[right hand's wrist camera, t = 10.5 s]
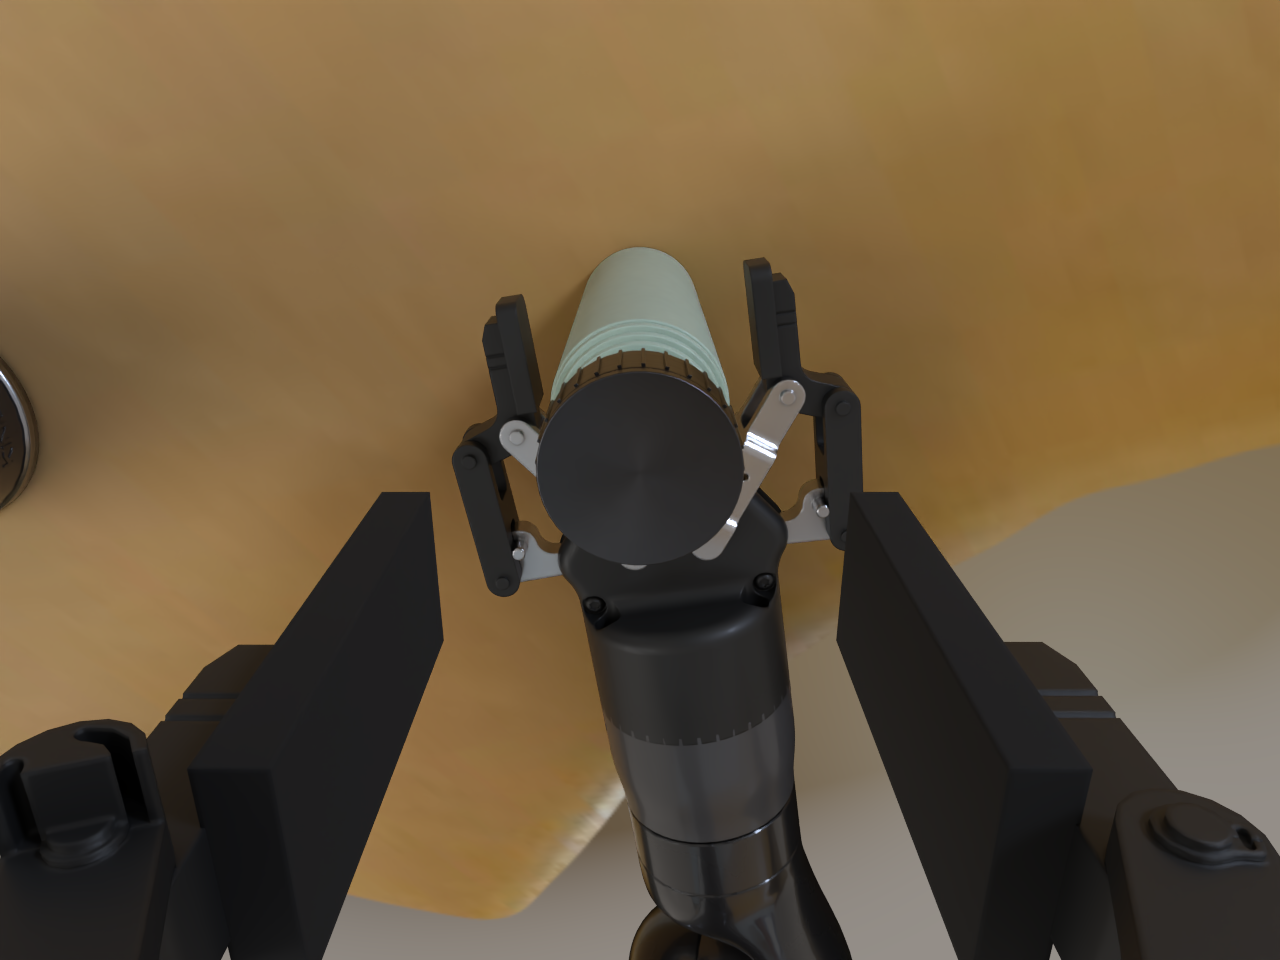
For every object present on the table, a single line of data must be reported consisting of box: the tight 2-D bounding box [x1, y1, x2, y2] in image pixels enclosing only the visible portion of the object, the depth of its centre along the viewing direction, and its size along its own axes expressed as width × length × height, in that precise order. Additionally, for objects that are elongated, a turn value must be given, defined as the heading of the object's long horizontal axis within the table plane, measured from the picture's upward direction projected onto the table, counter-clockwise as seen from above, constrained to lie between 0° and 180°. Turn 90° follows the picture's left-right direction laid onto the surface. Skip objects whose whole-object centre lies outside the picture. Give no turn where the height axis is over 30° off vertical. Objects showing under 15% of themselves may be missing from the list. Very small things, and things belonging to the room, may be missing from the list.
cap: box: [535, 348, 745, 565], centre depth 19 cm, size 4×4×2 cm
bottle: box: [551, 247, 730, 406], centre depth 27 cm, size 5×5×18 cm
